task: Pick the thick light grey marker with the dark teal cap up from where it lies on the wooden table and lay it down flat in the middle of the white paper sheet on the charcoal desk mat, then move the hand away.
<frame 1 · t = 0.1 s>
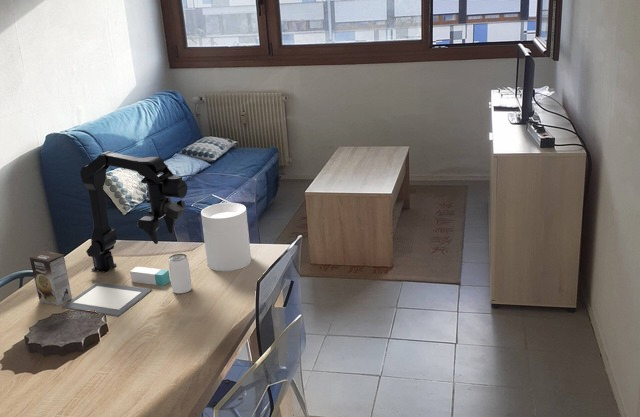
hand: (163, 238, 218), 14 cm above the table, tool pointing down, fingers open, 9 cm apart
desk mat: (107, 298, 210), on the table
canister: (229, 262, 232), on the table
marker: (147, 280, 221), on the table
can: (182, 290, 213), on the table
coffee box: (56, 300, 211), on the table
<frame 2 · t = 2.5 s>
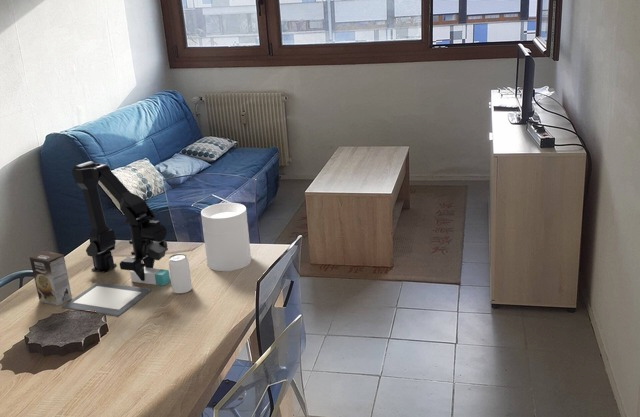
hand: (146, 277, 221), 1 cm above the table, tool pointing down, fingers closed on marker, 4 cm apart
marker: (147, 280, 221), on the table, touching gripper
everything else where it was.
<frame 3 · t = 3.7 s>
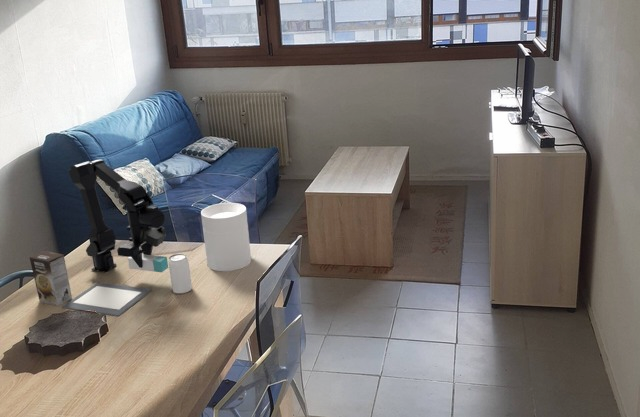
hand: (144, 264, 219), 6 cm above the table, tool pointing down, fingers closed on marker, 4 cm apart
marker: (145, 267, 219), point 5 cm above the table, touching gripper
everything else where it was.
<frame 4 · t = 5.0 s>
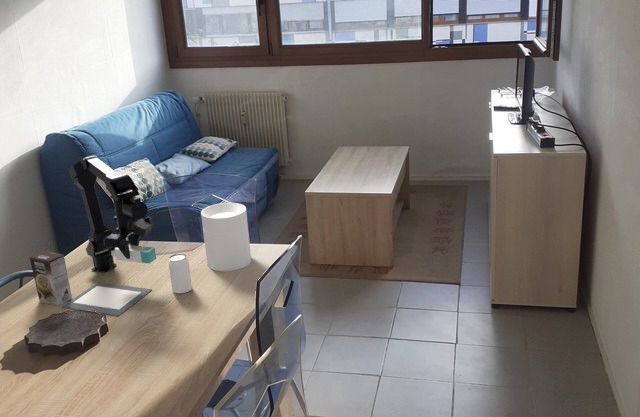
hand: (131, 256, 214), 11 cm above the table, tool pointing down, fingers closed on marker, 4 cm apart
marker: (132, 258, 214), point 10 cm above the table, touching gripper
everything else where it was.
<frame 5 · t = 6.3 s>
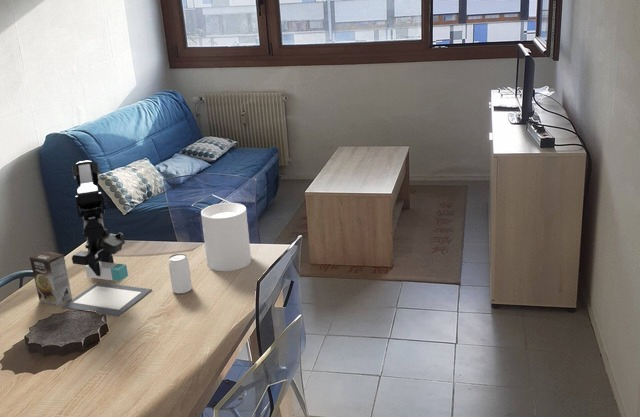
hand: (103, 273, 206), 9 cm above the table, tool pointing down, fingers closed on marker, 4 cm apart
marker: (103, 275, 207), point 8 cm above the table, touching gripper
everything else where it was.
when the fingers open (3 cm above the table, at t = 7.6 s): marker drops 1 cm, resting on desk mat.
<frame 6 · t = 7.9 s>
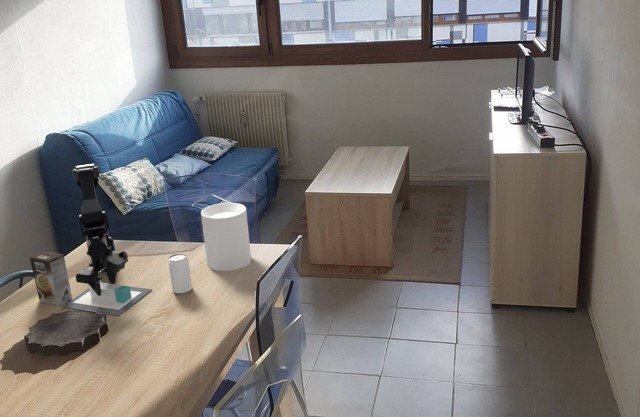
hand: (106, 290, 209), 3 cm above the table, tool pointing down, fingers open, 7 cm apart
marker: (107, 297, 209), point 1 cm above the table, touching desk mat
everything else where it was.
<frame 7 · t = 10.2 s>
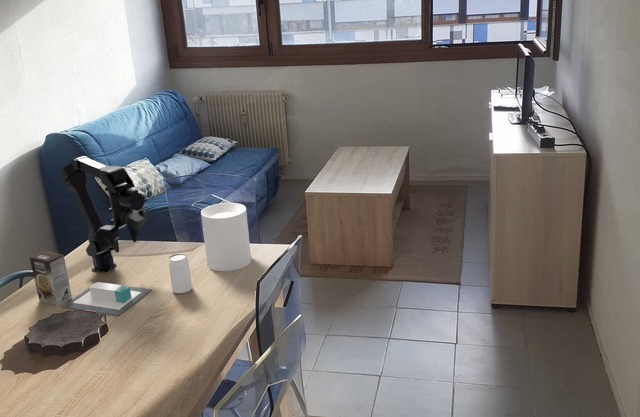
hand: (126, 247, 220), 12 cm above the table, tool pointing down, fingers open, 9 cm apart
nothing on the table moved.
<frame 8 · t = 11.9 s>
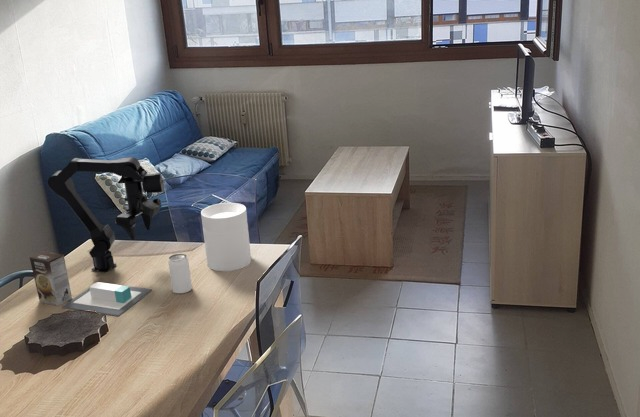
hand: (141, 234, 229), 12 cm above the table, tool pointing down, fingers open, 9 cm apart
nothing on the table moved.
at the end: marker 0.0 cm off-centre on the desk mat, point 0.6 cm above the desk mat's base; marker tilted 0°; the gripper is holding nothing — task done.
